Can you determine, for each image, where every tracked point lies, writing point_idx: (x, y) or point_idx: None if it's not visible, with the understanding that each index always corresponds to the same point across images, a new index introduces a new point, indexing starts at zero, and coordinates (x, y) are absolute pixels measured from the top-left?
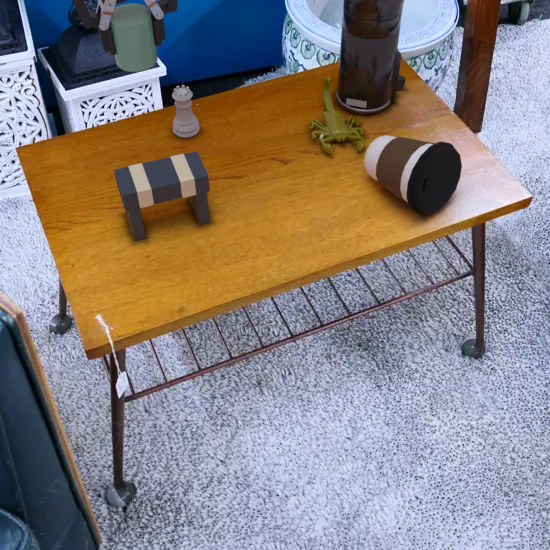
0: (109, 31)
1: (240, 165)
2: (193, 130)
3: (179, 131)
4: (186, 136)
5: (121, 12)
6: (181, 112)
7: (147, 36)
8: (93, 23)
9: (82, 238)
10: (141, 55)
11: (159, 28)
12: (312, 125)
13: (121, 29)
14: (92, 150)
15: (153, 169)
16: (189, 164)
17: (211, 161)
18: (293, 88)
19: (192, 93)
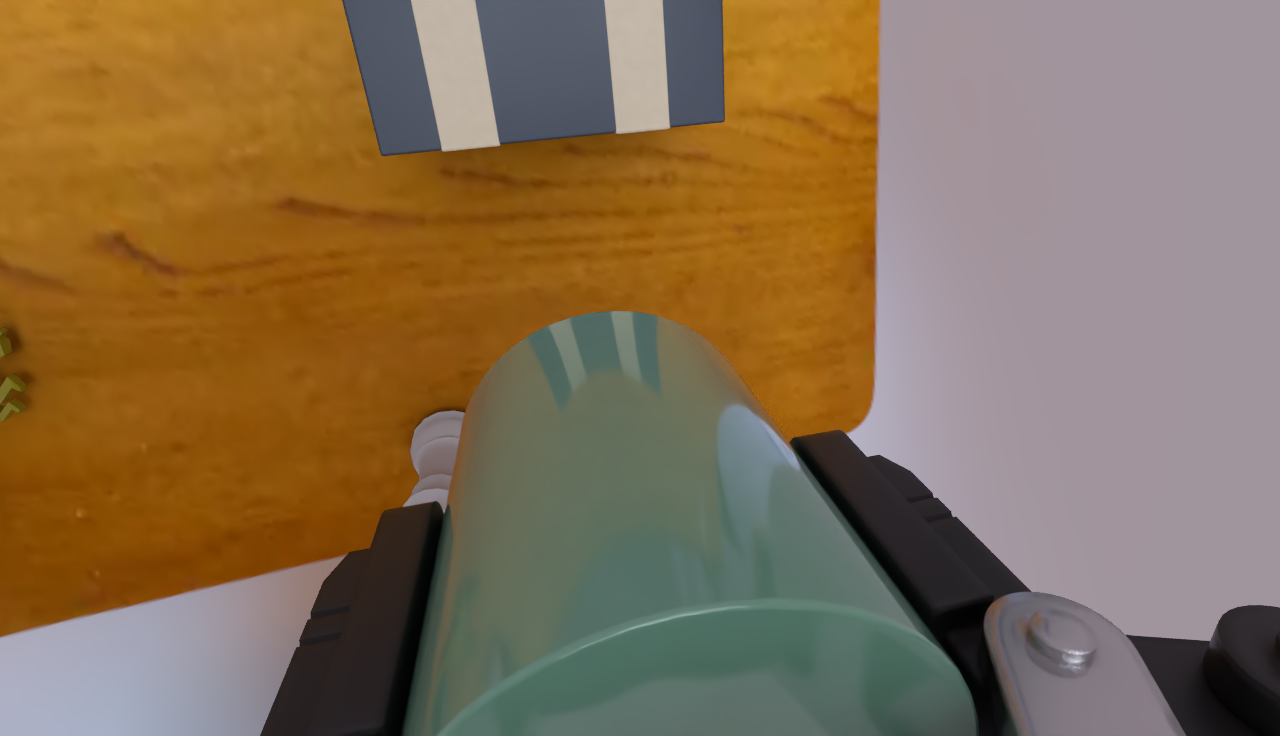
0: (942, 588)
1: (286, 262)
2: (429, 425)
3: None
4: (453, 411)
5: None
6: (452, 467)
7: (496, 516)
8: (1185, 685)
9: (801, 46)
10: (587, 371)
11: (341, 639)
12: (5, 389)
13: (850, 575)
14: None
15: (575, 77)
16: (419, 69)
17: (384, 299)
18: (107, 571)
19: None
